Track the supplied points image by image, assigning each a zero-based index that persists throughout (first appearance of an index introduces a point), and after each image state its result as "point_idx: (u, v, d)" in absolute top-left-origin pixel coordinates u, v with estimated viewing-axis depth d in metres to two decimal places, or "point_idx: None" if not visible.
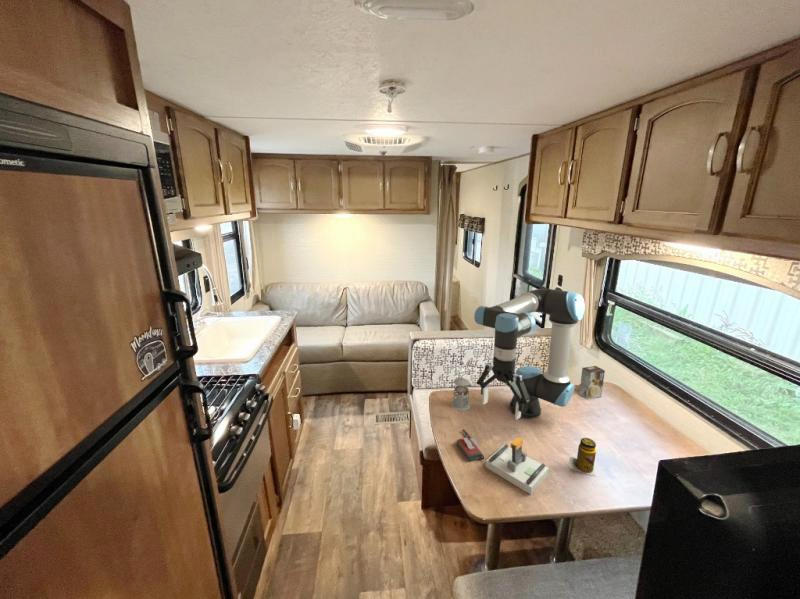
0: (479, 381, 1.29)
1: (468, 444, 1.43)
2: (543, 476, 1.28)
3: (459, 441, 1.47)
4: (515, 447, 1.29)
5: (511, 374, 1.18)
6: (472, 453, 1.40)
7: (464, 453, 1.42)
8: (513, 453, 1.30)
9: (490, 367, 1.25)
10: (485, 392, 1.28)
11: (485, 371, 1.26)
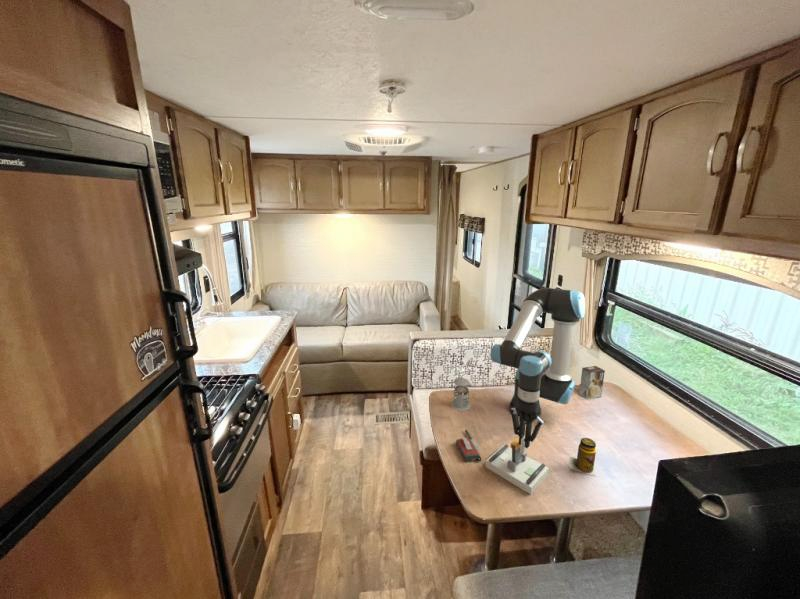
0: (515, 430, 1.29)
1: (466, 444, 1.43)
2: (543, 476, 1.28)
3: (458, 441, 1.47)
4: (515, 447, 1.29)
5: (536, 416, 1.22)
6: (469, 454, 1.39)
7: (461, 453, 1.42)
8: (513, 453, 1.30)
9: (514, 409, 1.29)
10: None
11: (513, 416, 1.29)
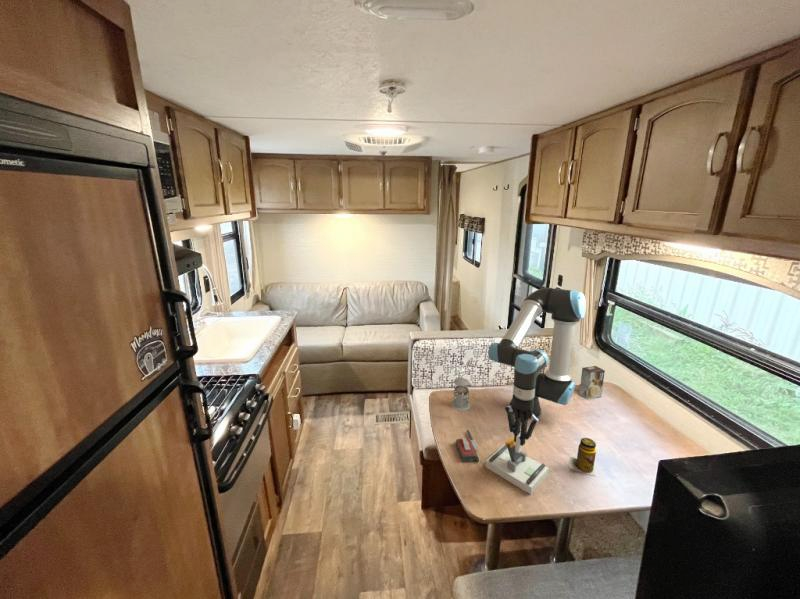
0: (511, 427, 1.30)
1: (465, 445, 1.43)
2: (543, 476, 1.28)
3: (458, 441, 1.47)
4: (509, 445, 1.31)
5: (531, 414, 1.23)
6: (467, 454, 1.39)
7: (460, 453, 1.42)
8: (510, 452, 1.31)
9: (510, 407, 1.30)
10: None
11: (508, 414, 1.30)
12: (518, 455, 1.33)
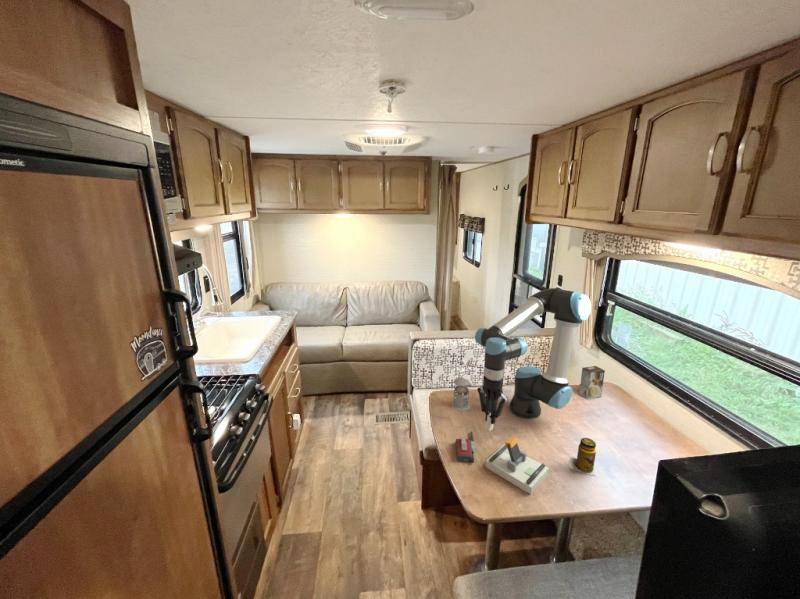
0: (482, 407, 1.39)
1: (463, 445, 1.43)
2: (543, 476, 1.28)
3: (457, 440, 1.48)
4: (509, 445, 1.31)
5: (500, 394, 1.31)
6: (462, 454, 1.39)
7: (456, 452, 1.42)
8: (510, 452, 1.31)
9: (481, 388, 1.38)
10: None
11: (480, 394, 1.38)
12: (518, 455, 1.33)
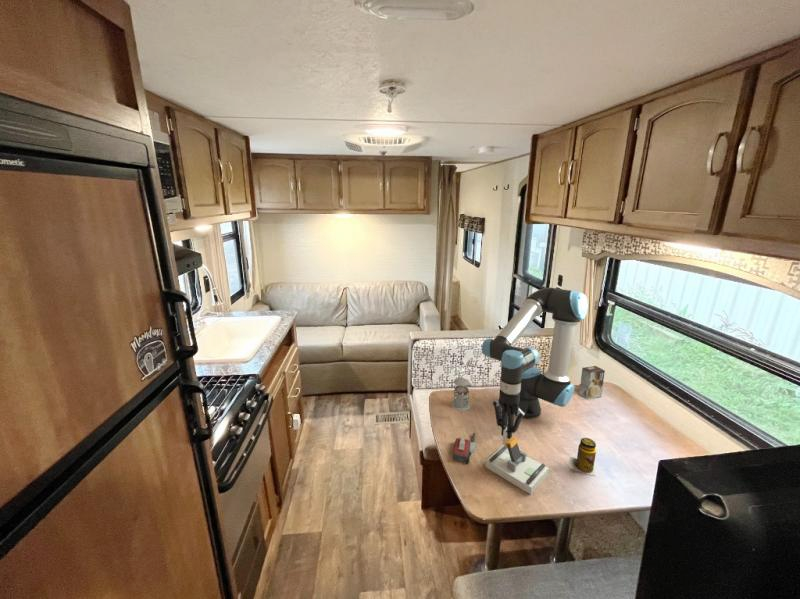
0: (498, 421, 1.34)
1: (461, 444, 1.43)
2: (543, 476, 1.28)
3: (457, 440, 1.48)
4: (509, 445, 1.31)
5: (517, 408, 1.27)
6: (458, 453, 1.40)
7: (453, 451, 1.43)
8: (510, 452, 1.31)
9: (497, 402, 1.34)
10: None
11: (496, 408, 1.34)
12: (518, 455, 1.33)
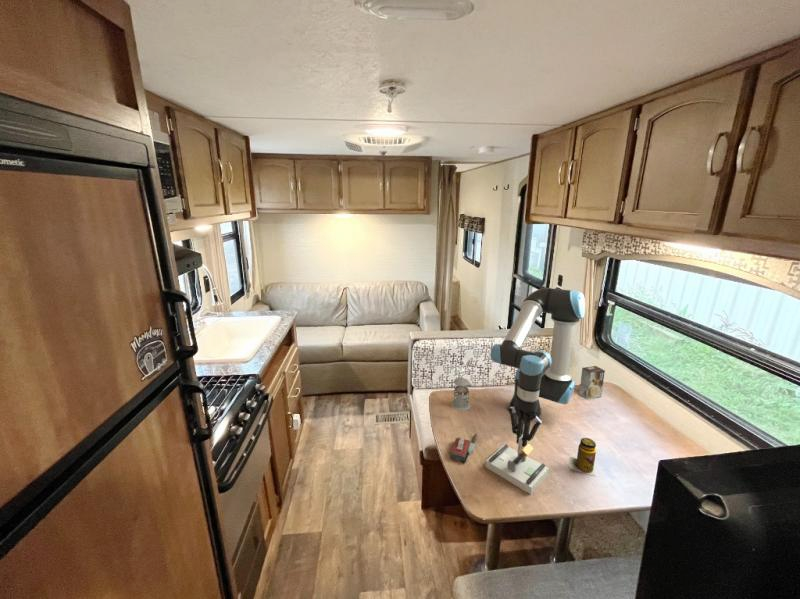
0: (513, 429, 1.29)
1: (459, 444, 1.43)
2: (543, 476, 1.28)
3: (457, 439, 1.48)
4: (525, 455, 1.26)
5: (534, 416, 1.22)
6: (455, 452, 1.40)
7: (452, 450, 1.44)
8: (520, 457, 1.28)
9: (513, 408, 1.29)
10: None
11: (511, 415, 1.29)
12: (522, 458, 1.32)
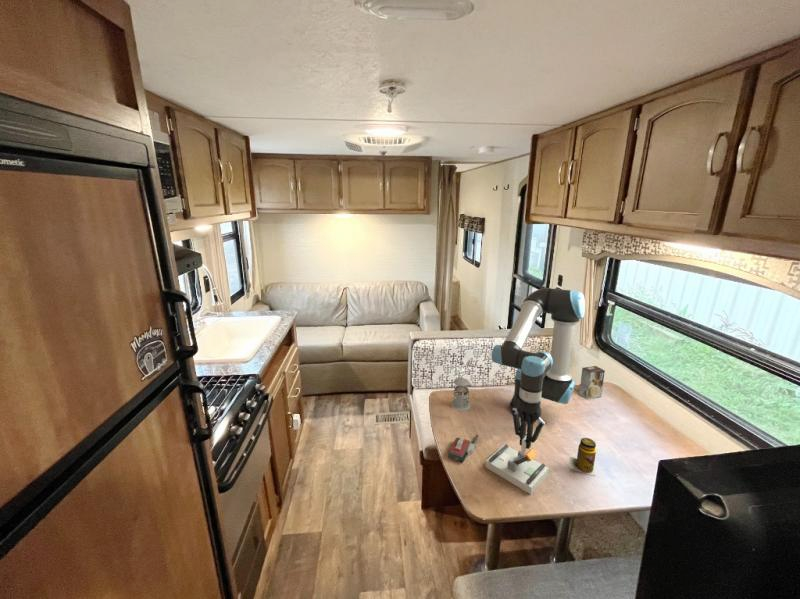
0: (516, 430, 1.28)
1: (458, 444, 1.44)
2: (543, 476, 1.28)
3: (457, 439, 1.48)
4: (528, 460, 1.26)
5: (537, 417, 1.21)
6: (453, 452, 1.40)
7: None
8: (522, 460, 1.28)
9: (515, 410, 1.28)
10: None
11: (514, 416, 1.28)
12: None
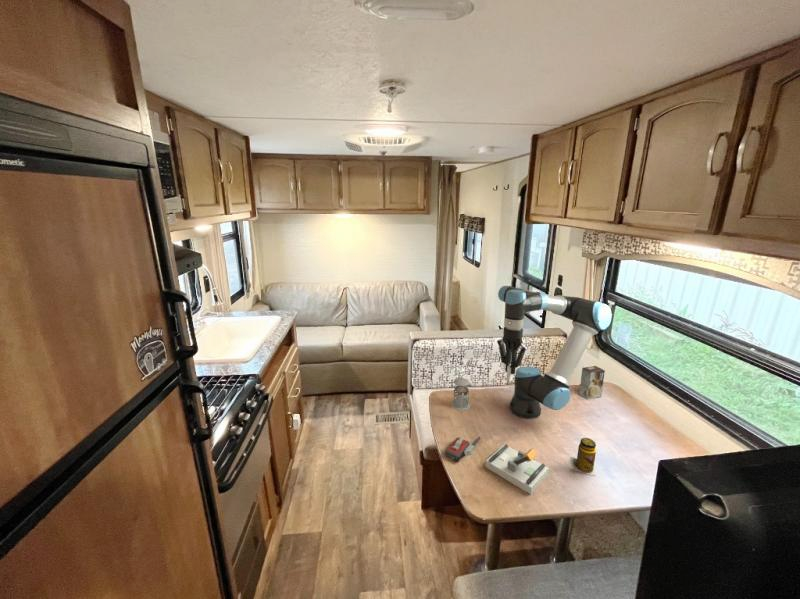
0: (502, 359, 1.44)
1: (456, 443, 1.44)
2: (543, 476, 1.28)
3: (457, 439, 1.49)
4: (528, 460, 1.26)
5: (520, 343, 1.37)
6: (450, 451, 1.41)
7: None
8: (522, 460, 1.28)
9: (501, 340, 1.44)
10: None
11: (500, 346, 1.44)
12: None
